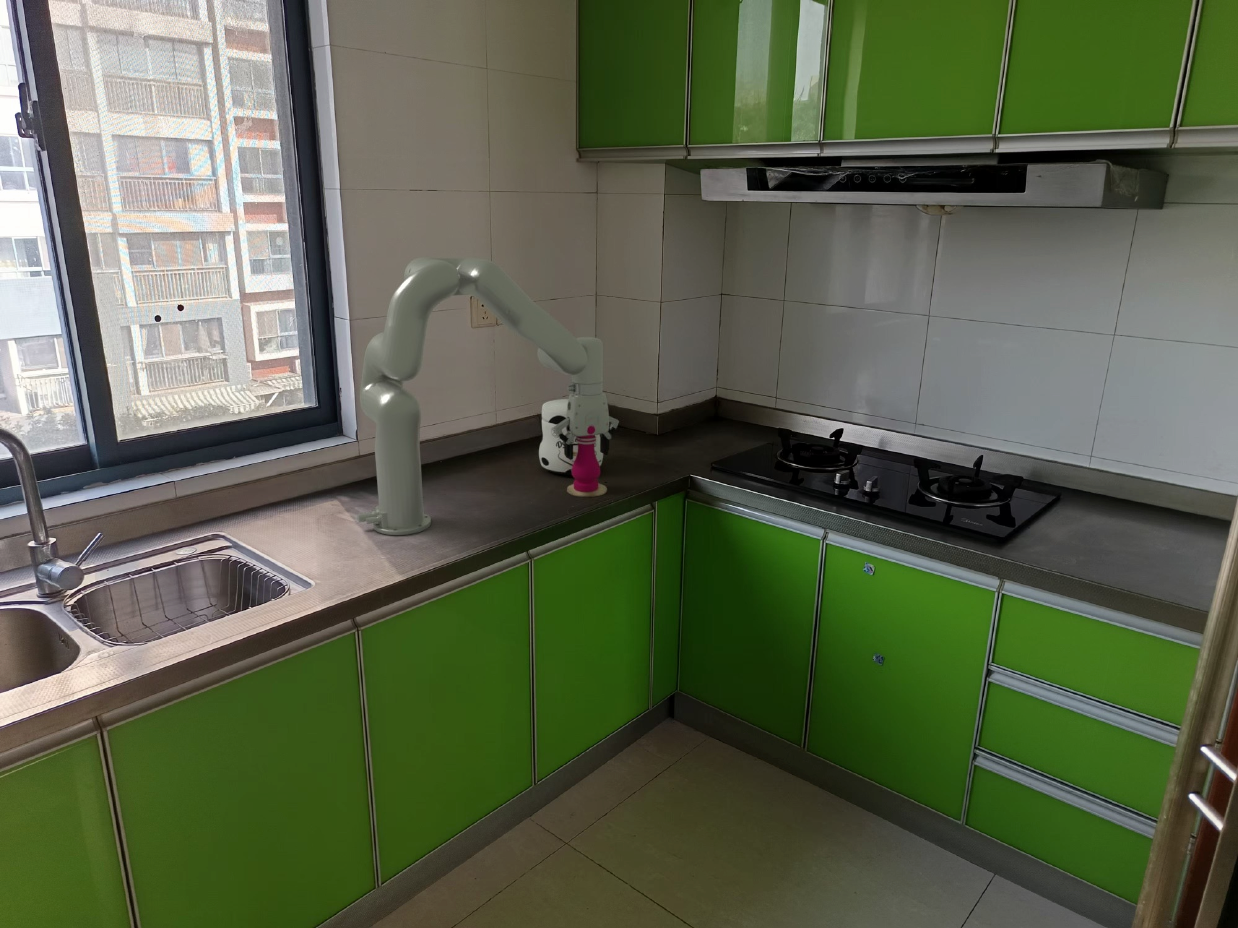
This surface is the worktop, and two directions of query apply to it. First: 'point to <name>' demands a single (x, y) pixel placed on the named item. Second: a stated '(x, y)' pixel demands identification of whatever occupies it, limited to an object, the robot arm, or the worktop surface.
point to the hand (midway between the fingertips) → (586, 455)
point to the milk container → (558, 440)
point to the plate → (598, 492)
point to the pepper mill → (586, 464)
